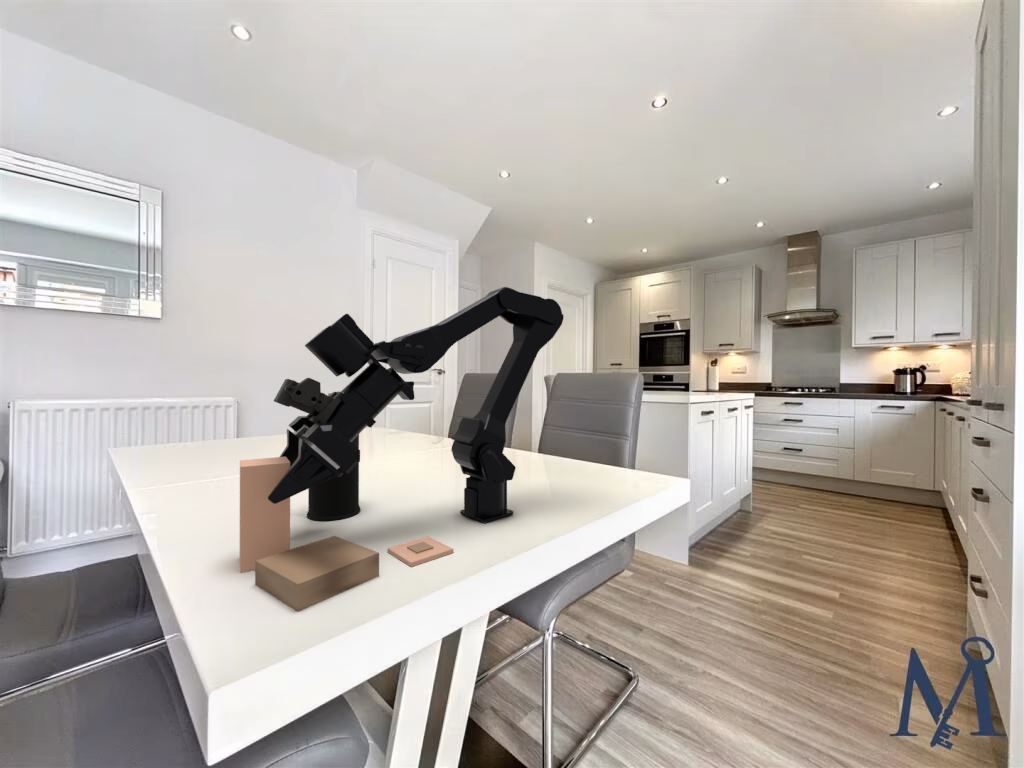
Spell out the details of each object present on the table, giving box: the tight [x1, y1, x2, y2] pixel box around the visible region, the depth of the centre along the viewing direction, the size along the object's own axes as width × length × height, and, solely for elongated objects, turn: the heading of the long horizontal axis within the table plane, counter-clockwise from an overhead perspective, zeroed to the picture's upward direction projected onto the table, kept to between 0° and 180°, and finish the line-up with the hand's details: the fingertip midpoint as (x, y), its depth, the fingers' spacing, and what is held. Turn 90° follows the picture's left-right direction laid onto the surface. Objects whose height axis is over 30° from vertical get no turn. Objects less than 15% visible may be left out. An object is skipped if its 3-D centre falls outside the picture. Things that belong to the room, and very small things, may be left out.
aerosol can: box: [306, 392, 361, 522], centre depth 69 cm, size 8×8×20 cm
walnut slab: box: [254, 535, 380, 613], centre depth 45 cm, size 9×9×3 cm
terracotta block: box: [239, 456, 291, 574], centre depth 50 cm, size 5×5×12 cm
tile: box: [386, 535, 454, 568], centre depth 52 cm, size 6×6×1 cm
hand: (267, 492), depth 50 cm, fingers open, 9 cm apart
